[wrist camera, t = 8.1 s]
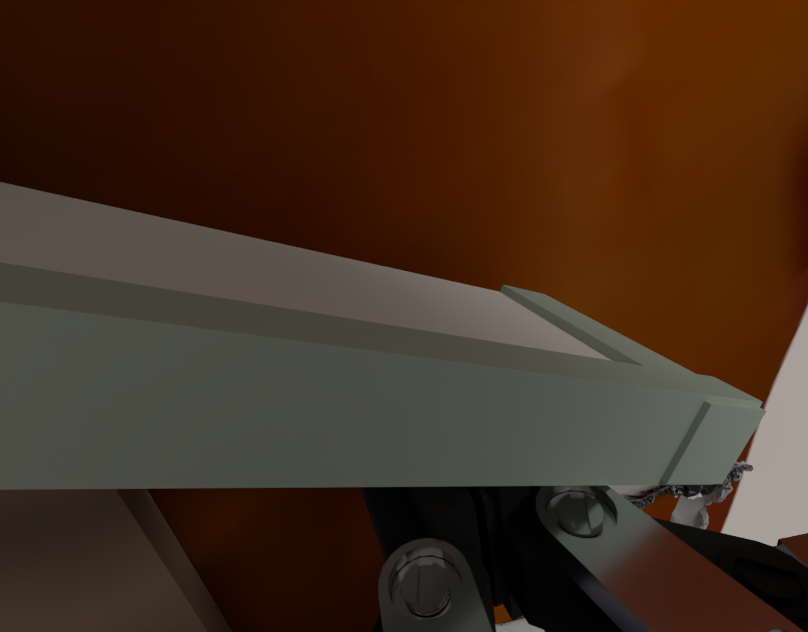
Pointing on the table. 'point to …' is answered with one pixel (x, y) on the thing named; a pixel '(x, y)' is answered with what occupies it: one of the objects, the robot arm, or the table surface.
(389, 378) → the panel
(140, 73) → the table surface
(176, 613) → the gate frame
